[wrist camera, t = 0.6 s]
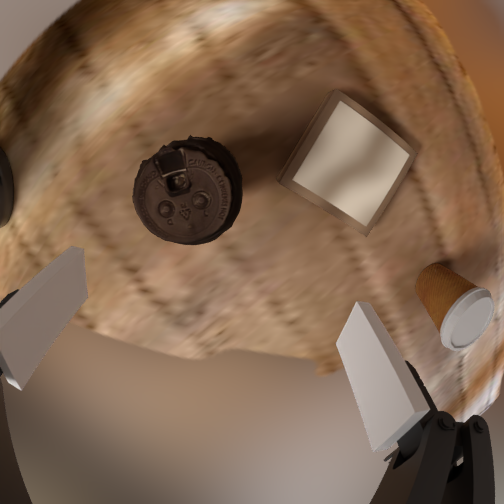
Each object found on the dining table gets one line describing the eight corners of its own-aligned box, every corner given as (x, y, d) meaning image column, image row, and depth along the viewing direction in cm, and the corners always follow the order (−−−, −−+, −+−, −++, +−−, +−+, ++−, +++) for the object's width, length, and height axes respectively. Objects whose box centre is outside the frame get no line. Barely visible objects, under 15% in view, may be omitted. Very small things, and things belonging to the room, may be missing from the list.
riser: (276, 178, 30) (279, 183, 27) (328, 92, 26) (336, 88, 23) (357, 228, 32) (367, 237, 29) (405, 151, 28) (418, 153, 25)
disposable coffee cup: (396, 286, 36) (436, 337, 25) (438, 241, 33) (489, 279, 22) (421, 315, 39) (456, 362, 28) (459, 275, 36) (500, 314, 25)
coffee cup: (192, 123, 27) (152, 115, 15) (259, 154, 29) (266, 165, 17) (162, 192, 30) (113, 228, 19) (225, 221, 32) (211, 273, 20)
